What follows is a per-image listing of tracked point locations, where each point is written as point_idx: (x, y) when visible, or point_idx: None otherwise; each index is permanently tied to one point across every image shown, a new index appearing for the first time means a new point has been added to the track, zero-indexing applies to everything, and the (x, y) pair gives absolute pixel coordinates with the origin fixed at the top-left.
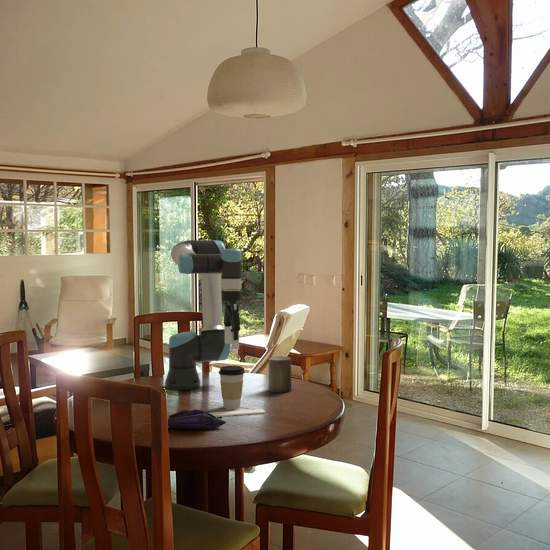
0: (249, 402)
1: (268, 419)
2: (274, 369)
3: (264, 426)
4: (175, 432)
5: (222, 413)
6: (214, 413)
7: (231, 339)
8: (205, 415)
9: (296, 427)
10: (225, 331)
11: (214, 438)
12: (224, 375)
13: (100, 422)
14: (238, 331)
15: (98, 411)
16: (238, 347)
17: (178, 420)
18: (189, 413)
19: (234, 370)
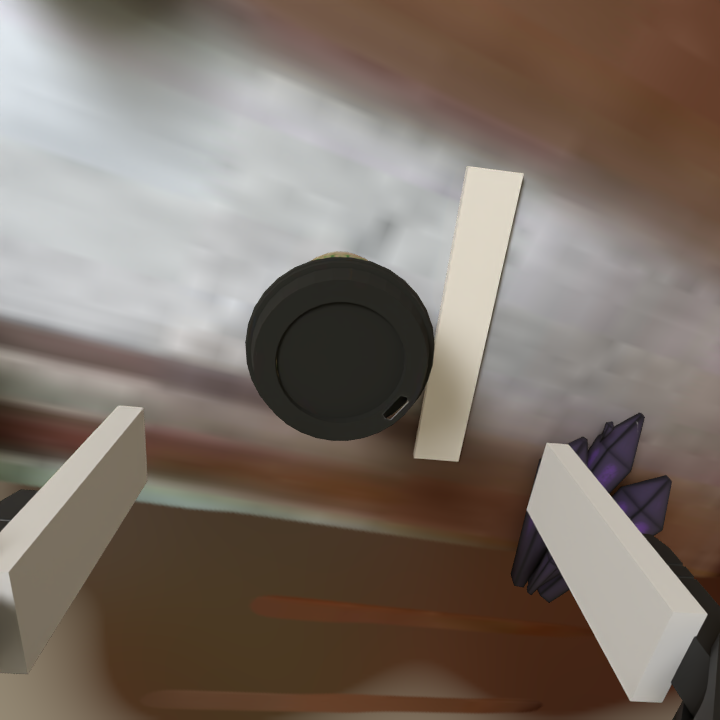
0: (279, 172)
1: (618, 197)
2: None
3: (700, 255)
4: None
5: (456, 370)
6: (441, 400)
7: (574, 592)
8: (657, 510)
9: None
10: (70, 597)
11: (712, 465)
12: (389, 411)
13: (369, 705)
14: (702, 620)
15: (236, 706)
16: (575, 460)
17: None
18: None
19: (426, 367)
